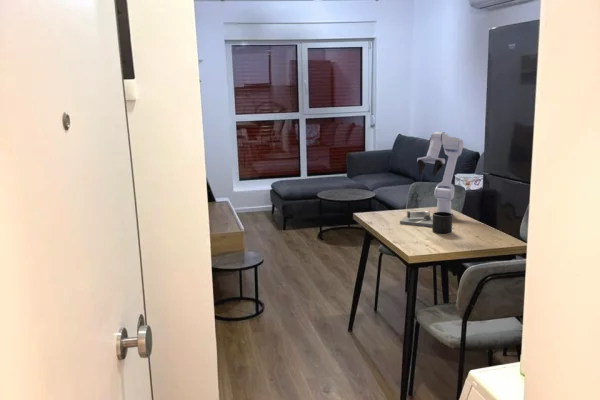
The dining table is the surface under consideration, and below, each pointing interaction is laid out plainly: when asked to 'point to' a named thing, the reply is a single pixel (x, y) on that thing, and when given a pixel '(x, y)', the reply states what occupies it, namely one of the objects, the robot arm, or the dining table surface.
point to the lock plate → (418, 221)
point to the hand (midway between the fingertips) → (426, 174)
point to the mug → (442, 222)
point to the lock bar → (418, 214)
